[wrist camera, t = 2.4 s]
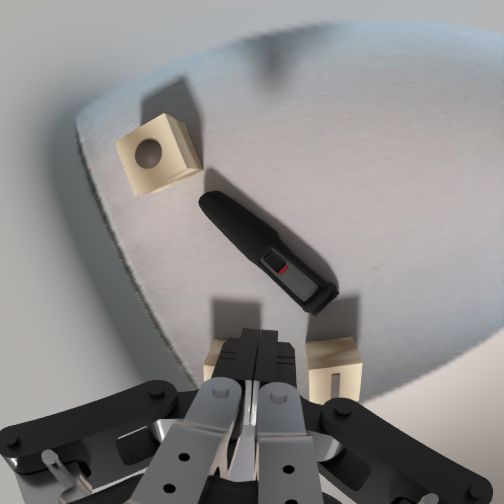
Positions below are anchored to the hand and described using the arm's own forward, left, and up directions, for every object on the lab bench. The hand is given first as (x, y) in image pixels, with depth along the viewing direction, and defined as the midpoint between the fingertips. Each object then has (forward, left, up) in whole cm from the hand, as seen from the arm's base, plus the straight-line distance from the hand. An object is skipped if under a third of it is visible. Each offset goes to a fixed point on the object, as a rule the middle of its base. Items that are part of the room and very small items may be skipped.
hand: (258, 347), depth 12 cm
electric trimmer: (0, 0, -16) cm, 16 cm away
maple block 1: (+10, -9, -15) cm, 20 cm away
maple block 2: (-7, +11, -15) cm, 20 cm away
